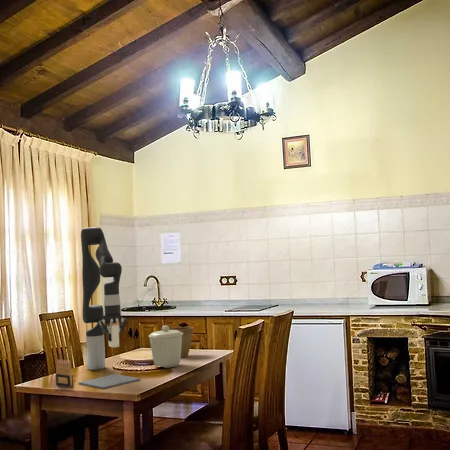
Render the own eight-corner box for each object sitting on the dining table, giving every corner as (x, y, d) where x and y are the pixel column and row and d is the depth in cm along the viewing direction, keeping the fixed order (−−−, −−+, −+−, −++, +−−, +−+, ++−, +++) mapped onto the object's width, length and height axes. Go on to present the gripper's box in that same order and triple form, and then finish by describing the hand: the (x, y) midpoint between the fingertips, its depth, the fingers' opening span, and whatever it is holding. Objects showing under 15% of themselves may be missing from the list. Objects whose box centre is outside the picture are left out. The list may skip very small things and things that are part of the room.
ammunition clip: (73, 386, 249) (72, 359, 250) (69, 387, 248) (68, 360, 249) (59, 384, 256) (58, 358, 257) (55, 385, 254) (54, 358, 255)
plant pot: (196, 357, 308) (195, 328, 309) (170, 359, 305) (168, 330, 306) (192, 353, 323) (190, 325, 324) (166, 355, 319) (165, 328, 320)
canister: (179, 369, 275) (176, 327, 276) (144, 370, 278) (142, 328, 280) (188, 362, 292) (186, 322, 294) (156, 363, 296) (154, 323, 297)
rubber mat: (78, 384, 253) (78, 382, 253) (115, 375, 268) (115, 374, 268) (103, 389, 240) (103, 387, 240) (140, 380, 254) (140, 378, 254)
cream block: (113, 347, 257) (112, 323, 258) (108, 346, 263) (107, 323, 264) (119, 346, 259) (118, 323, 260) (114, 345, 265) (113, 322, 266)
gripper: (100, 305, 256) (102, 343, 254) (128, 303, 263) (130, 339, 261) (95, 305, 262) (97, 342, 261) (123, 303, 269) (125, 338, 268)
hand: (114, 340), depth 261 cm, fingers closed on cream block, 3 cm apart
